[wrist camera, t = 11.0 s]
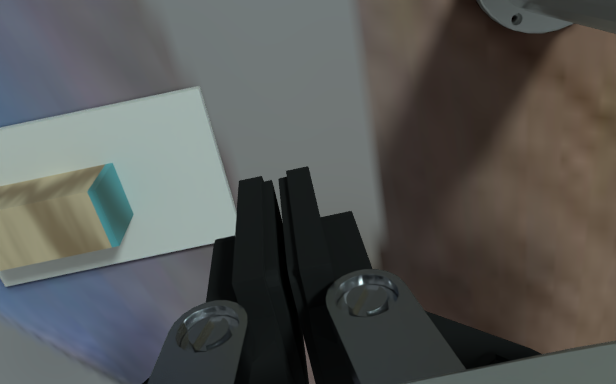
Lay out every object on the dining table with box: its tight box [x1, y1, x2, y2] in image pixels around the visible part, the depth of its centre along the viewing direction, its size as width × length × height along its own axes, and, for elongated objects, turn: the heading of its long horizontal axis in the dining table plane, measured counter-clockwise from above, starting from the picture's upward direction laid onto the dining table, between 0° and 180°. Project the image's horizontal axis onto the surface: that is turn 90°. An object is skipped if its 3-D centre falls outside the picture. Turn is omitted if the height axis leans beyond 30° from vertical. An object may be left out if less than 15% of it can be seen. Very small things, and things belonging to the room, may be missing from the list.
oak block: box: [0, 163, 134, 271], centre depth 39 cm, size 5×5×10 cm
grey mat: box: [0, 86, 237, 287], centre depth 42 cm, size 22×14×1 cm, turn 100°
